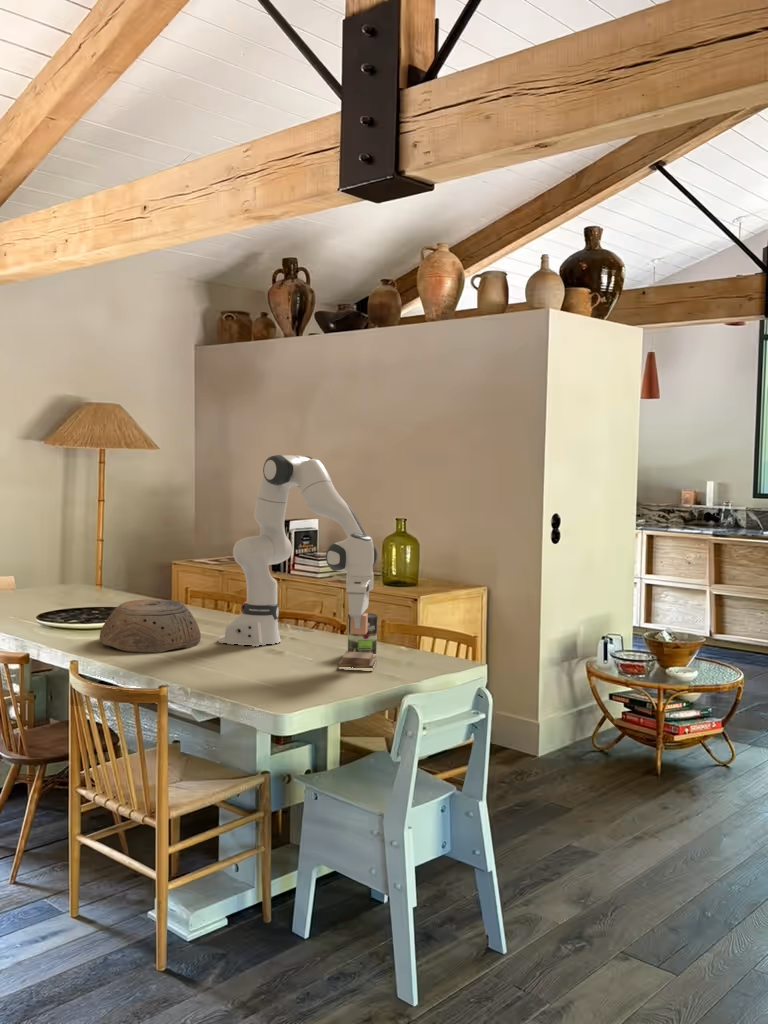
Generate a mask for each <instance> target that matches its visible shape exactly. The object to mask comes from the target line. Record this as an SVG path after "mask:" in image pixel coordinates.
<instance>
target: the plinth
mask: <svg viewBox="0 0 768 1024" xmlns="http://www.w3.org/2000/svg"><path fill="white" fill-rule="evenodd" d="M375 662H376V663H377V658H376V657H373V653H367V652H348V651H345V653H343V655H342V657H341V660H340V661H338V664H337V665H338V667H351V668H352V667H353V668H373V666H374V664H375ZM338 667H337V668H338Z"/></svg>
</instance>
